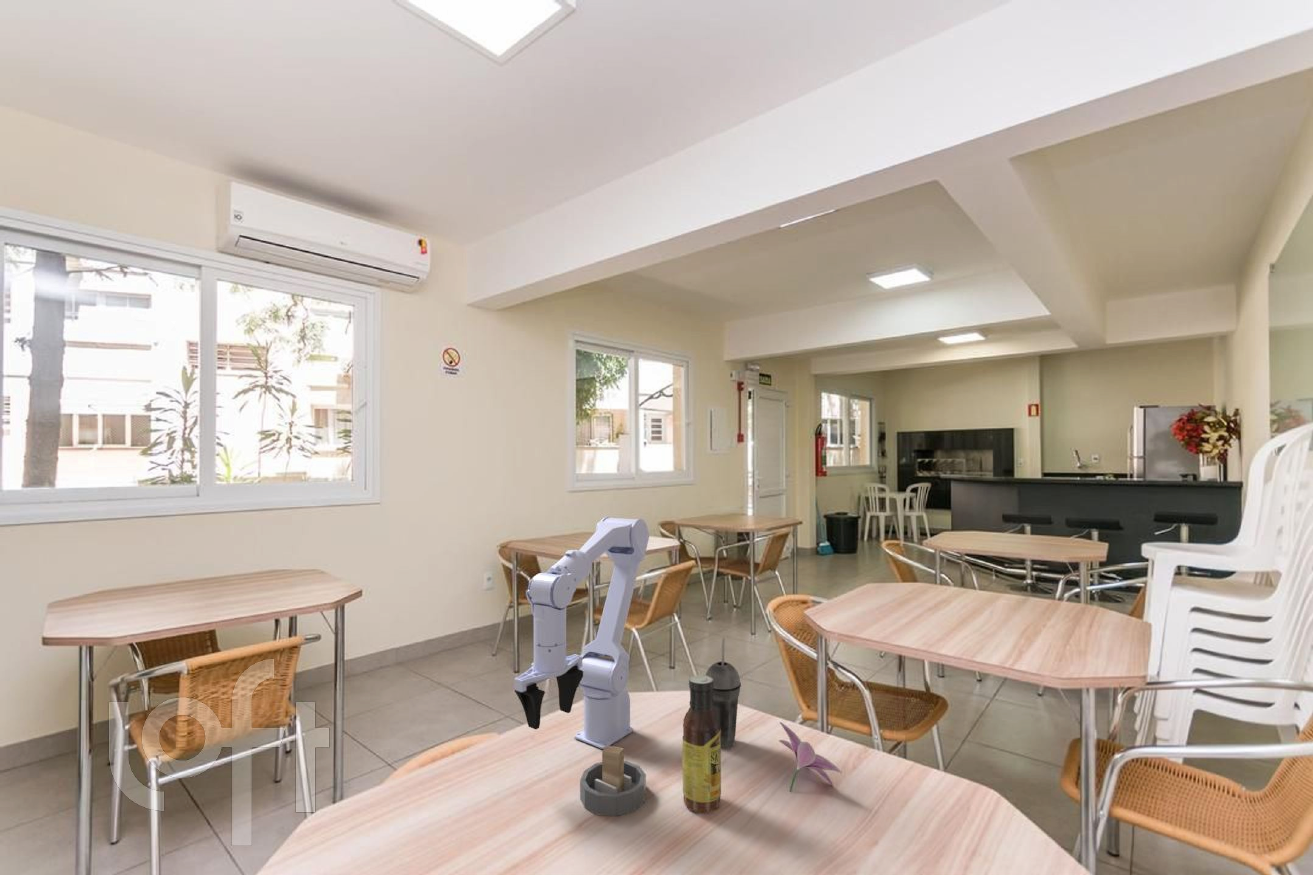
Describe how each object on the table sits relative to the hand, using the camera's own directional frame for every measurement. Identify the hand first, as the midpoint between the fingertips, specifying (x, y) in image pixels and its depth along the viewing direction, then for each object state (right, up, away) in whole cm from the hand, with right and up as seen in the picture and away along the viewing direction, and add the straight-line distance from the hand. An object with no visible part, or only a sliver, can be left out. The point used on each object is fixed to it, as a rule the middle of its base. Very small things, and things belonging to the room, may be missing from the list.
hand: (549, 718), depth 103 cm
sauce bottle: (+26, -10, -8) cm, 29 cm away
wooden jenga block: (+12, -9, -6) cm, 16 cm away
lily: (+45, -10, -3) cm, 46 cm away
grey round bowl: (+12, -10, -6) cm, 16 cm away
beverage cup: (+32, -10, +11) cm, 35 cm away
